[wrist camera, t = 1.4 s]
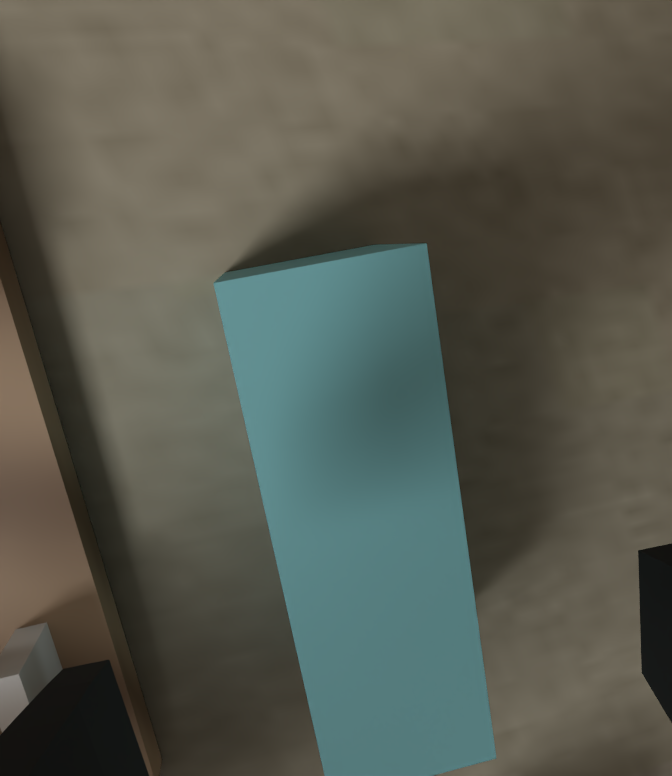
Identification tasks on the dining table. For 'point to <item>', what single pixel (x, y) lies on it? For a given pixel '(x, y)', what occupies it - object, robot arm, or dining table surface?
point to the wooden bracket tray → (48, 540)
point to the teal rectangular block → (363, 504)
